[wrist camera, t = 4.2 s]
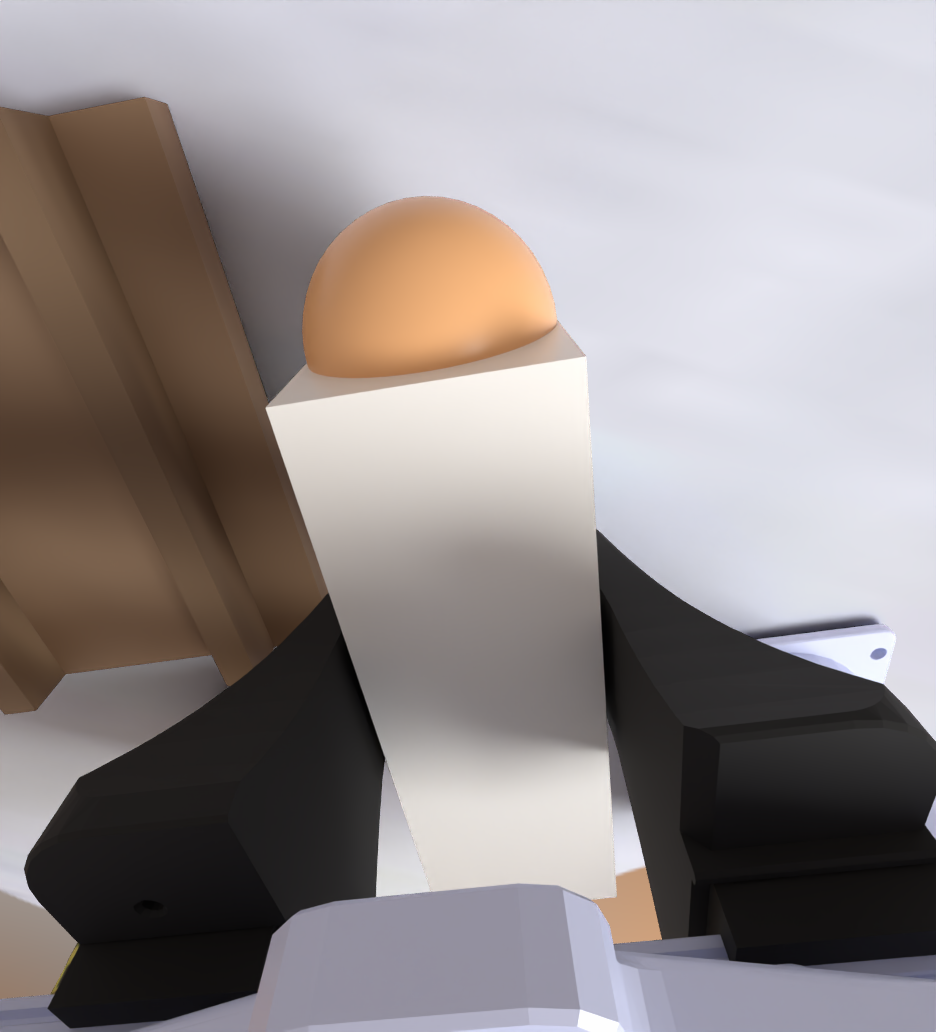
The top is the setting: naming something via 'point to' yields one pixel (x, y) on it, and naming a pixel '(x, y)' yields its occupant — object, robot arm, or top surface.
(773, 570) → the top surface
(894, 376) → the top surface
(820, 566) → the top surface
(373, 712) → the white post with dome
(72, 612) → the jig
